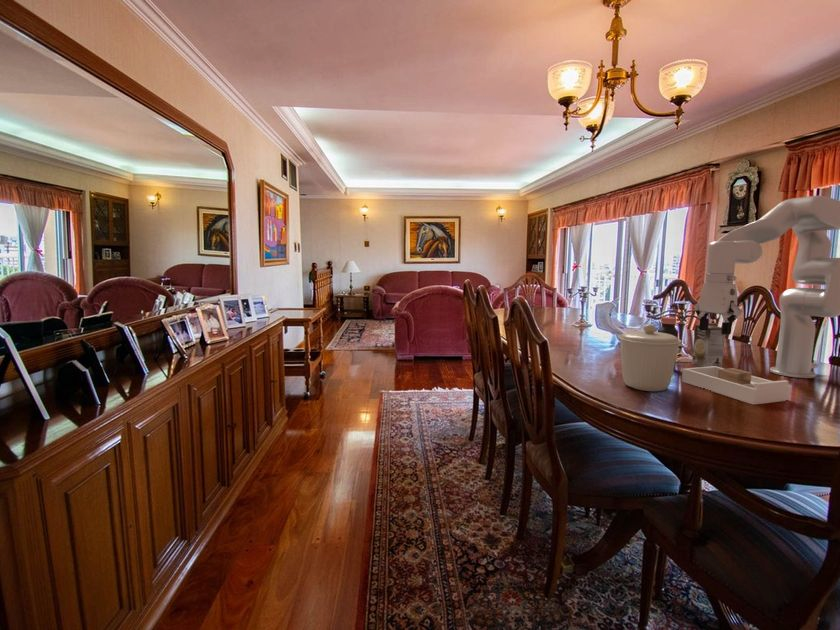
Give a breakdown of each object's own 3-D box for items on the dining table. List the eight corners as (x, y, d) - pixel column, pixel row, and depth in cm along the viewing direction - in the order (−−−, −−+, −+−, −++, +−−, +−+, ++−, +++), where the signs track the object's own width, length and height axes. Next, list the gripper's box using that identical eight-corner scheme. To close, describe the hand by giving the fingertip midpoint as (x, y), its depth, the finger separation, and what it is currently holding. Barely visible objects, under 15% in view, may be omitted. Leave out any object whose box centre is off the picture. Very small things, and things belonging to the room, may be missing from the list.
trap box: (713, 378, 146) (715, 361, 145) (788, 400, 123) (791, 380, 122) (681, 381, 143) (683, 364, 142) (753, 404, 120) (755, 384, 119)
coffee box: (690, 363, 168) (694, 324, 165) (706, 363, 167) (710, 324, 165) (706, 369, 158) (709, 328, 156) (722, 369, 158) (726, 328, 156)
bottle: (669, 366, 162) (673, 316, 159) (678, 371, 155) (683, 319, 153) (651, 366, 163) (655, 316, 160) (659, 371, 156) (663, 318, 154)
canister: (644, 398, 125) (649, 329, 123) (603, 381, 143) (606, 321, 140) (691, 393, 130) (697, 327, 128) (646, 377, 148) (650, 319, 145)
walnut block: (731, 378, 136) (732, 368, 135) (750, 383, 130) (751, 372, 130) (717, 379, 134) (718, 369, 134) (735, 385, 128) (736, 374, 128)
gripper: (755, 280, 128) (749, 336, 130) (704, 277, 145) (699, 327, 147) (736, 280, 126) (731, 337, 129) (686, 278, 143) (682, 328, 145)
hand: (714, 331), depth 138 cm, fingers open, 7 cm apart
